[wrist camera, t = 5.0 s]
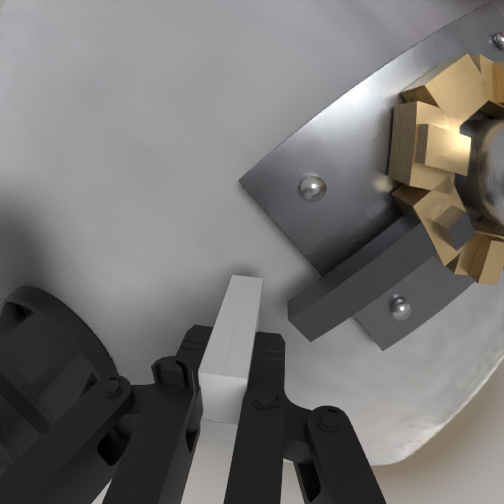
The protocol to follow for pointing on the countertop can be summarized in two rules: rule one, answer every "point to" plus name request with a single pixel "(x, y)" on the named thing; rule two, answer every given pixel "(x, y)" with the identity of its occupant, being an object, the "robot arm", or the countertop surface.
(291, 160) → the flange
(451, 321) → the countertop surface
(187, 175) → the countertop surface
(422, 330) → the countertop surface
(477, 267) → the ring nut
